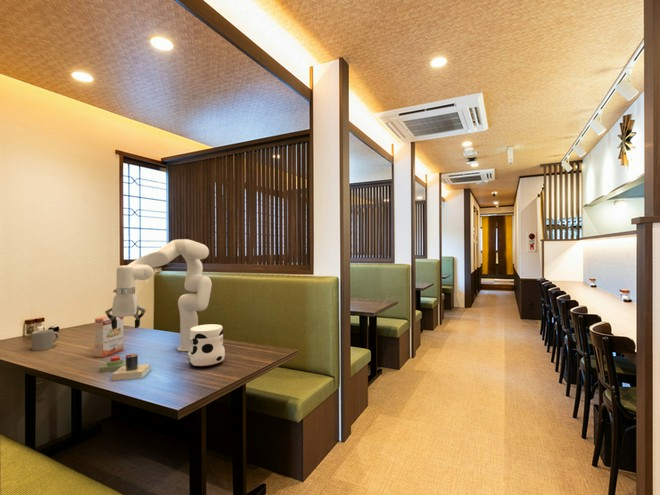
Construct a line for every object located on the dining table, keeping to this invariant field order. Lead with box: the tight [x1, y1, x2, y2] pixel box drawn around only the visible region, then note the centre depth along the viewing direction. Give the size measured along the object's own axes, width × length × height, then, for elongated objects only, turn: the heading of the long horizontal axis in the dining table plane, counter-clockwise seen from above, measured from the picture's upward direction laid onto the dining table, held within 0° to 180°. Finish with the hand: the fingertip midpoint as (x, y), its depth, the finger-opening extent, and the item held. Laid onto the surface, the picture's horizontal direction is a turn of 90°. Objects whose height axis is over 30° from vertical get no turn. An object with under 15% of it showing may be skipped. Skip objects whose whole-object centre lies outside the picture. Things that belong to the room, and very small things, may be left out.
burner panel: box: [111, 363, 151, 381], centre depth 154 cm, size 12×10×3 cm
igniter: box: [99, 357, 126, 373], centre depth 163 cm, size 10×8×4 cm
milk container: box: [187, 323, 226, 368], centre depth 168 cm, size 17×17×18 cm
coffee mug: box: [31, 329, 60, 352], centre depth 202 cm, size 13×10×10 cm
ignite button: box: [110, 355, 120, 362], centre depth 163 cm, size 4×4×2 cm
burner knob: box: [125, 353, 139, 371], centre depth 154 cm, size 5×5×6 cm
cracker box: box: [94, 315, 125, 358], centre depth 188 cm, size 14×6×21 cm, turn 168°
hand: (125, 328), depth 159 cm, fingers open, 9 cm apart
